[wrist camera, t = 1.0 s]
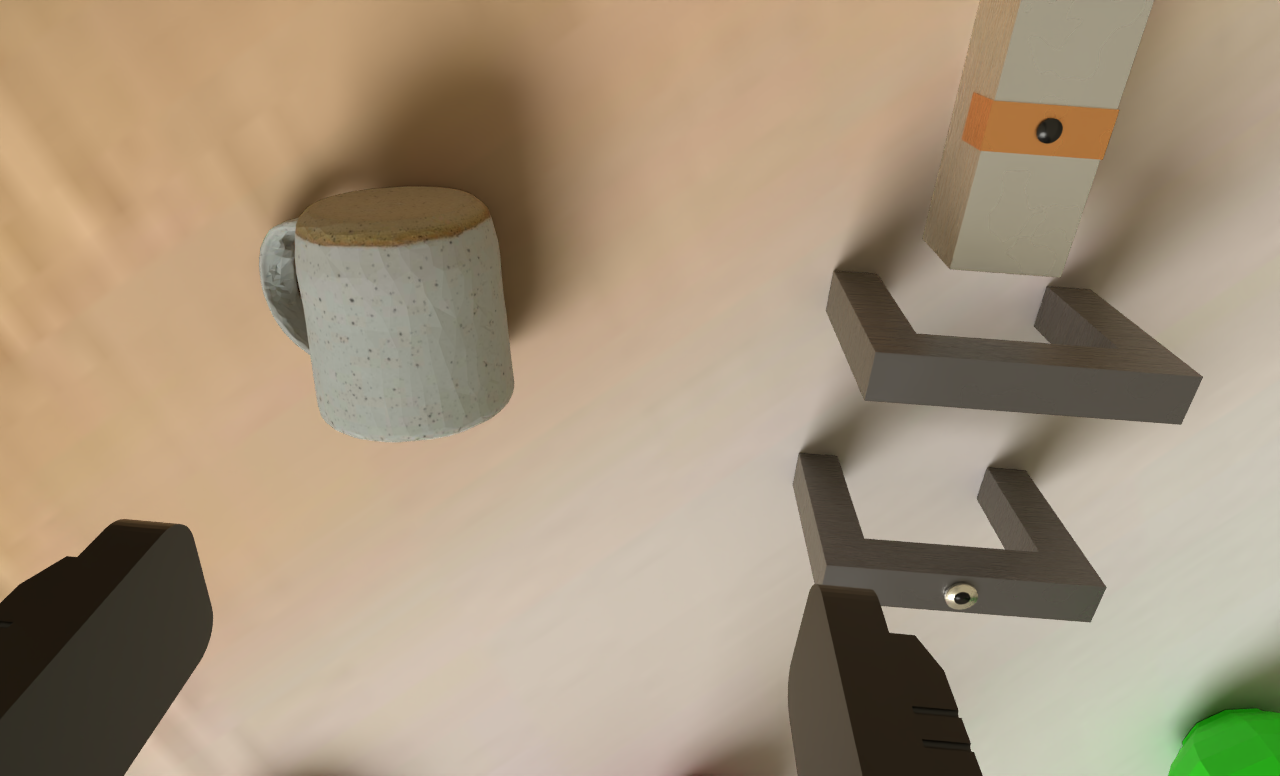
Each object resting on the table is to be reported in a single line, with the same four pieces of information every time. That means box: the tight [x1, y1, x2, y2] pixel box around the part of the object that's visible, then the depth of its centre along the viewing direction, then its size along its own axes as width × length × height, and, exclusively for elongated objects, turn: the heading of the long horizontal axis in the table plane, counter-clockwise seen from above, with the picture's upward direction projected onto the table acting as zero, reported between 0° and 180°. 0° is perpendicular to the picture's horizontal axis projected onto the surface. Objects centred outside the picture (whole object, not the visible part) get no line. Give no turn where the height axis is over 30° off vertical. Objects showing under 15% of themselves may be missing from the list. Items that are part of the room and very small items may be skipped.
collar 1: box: [826, 271, 1203, 425], centre depth 29 cm, size 2×11×8 cm, turn 86°
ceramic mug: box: [259, 186, 514, 442], centre depth 30 cm, size 11×8×8 cm
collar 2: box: [793, 453, 1106, 622], centre depth 33 cm, size 2×11×8 cm, turn 86°
